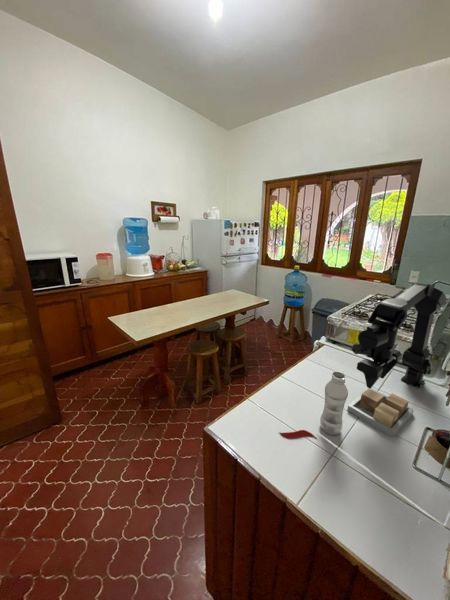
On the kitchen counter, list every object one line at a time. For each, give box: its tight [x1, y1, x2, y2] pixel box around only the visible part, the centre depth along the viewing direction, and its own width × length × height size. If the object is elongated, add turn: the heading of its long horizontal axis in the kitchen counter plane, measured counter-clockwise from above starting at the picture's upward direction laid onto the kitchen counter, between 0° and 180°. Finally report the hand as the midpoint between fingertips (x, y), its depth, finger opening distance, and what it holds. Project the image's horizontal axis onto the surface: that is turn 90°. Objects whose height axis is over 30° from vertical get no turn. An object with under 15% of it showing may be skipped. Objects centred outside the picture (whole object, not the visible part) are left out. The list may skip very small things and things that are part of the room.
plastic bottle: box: [319, 371, 349, 436], centre depth 75 cm, size 6×7×20 cm
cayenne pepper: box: [279, 429, 318, 440], centre depth 76 cm, size 12×5×2 cm, turn 71°
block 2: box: [373, 403, 399, 428], centre depth 79 cm, size 5×5×5 cm
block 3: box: [385, 392, 410, 420], centre depth 83 cm, size 5×5×5 cm
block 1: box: [359, 388, 384, 414], centre depth 86 cm, size 5×5×5 cm
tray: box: [347, 387, 415, 438], centre depth 84 cm, size 16×14×2 cm
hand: (375, 382), depth 83 cm, fingers open, 9 cm apart
